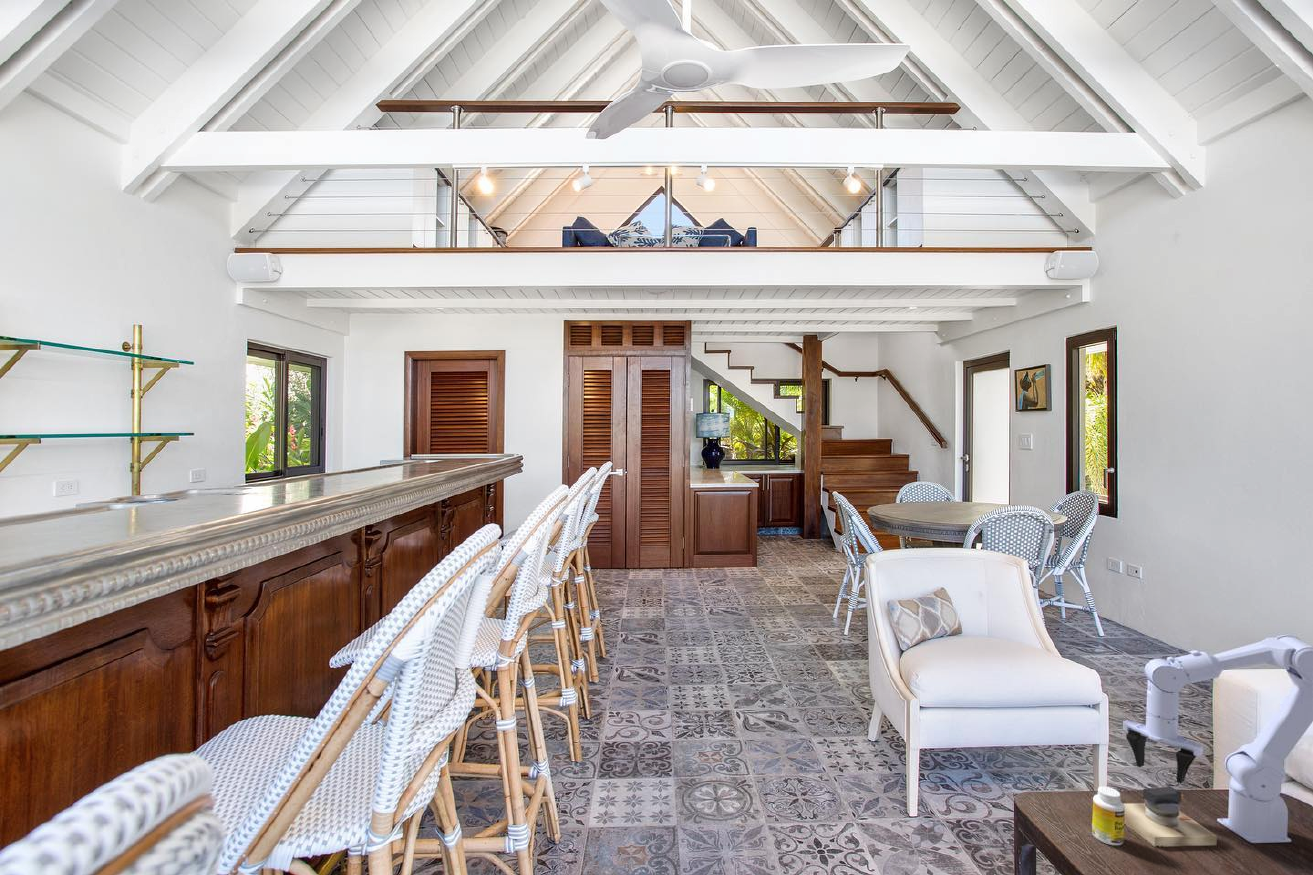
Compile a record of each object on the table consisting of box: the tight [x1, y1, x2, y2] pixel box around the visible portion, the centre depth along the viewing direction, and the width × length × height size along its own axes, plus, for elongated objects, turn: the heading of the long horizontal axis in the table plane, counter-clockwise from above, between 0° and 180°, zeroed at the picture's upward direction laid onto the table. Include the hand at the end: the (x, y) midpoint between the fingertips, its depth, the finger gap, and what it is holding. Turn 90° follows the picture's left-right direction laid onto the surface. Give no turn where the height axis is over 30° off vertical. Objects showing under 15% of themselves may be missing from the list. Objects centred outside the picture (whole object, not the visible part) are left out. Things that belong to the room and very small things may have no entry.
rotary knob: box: [1142, 786, 1185, 817], centre depth 141 cm, size 6×8×4 cm
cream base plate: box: [1123, 802, 1218, 848], centre depth 141 cm, size 14×12×4 cm
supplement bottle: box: [1091, 786, 1125, 846], centre depth 137 cm, size 6×6×10 cm
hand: (1160, 773), depth 146 cm, fingers open, 7 cm apart
